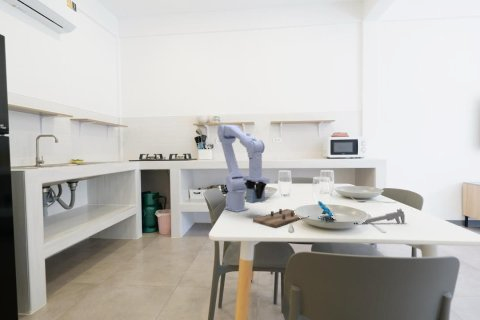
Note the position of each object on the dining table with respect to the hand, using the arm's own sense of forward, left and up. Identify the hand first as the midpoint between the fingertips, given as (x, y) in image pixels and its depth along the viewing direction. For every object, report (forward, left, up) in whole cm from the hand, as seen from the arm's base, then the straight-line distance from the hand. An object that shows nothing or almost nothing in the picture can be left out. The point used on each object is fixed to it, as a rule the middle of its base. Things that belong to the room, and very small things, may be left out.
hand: (255, 197), depth 118 cm
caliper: (+43, +27, -9) cm, 51 cm away
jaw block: (0, 0, -2) cm, 2 cm away
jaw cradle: (+11, +5, -8) cm, 15 cm away
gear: (+25, +19, -9) cm, 32 cm away
